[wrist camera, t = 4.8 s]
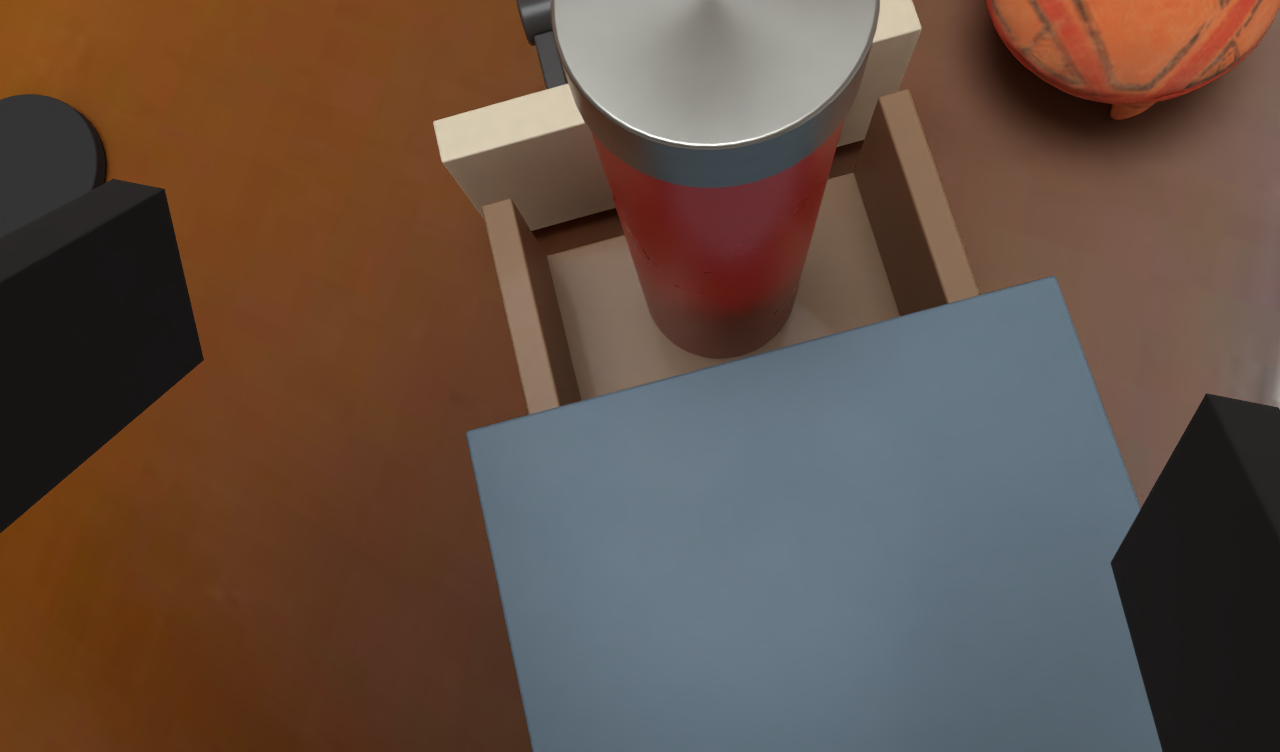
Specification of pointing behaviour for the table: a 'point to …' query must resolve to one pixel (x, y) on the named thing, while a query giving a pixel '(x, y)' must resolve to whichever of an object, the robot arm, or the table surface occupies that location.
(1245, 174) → the table surface
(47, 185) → the coaster
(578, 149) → the drawer
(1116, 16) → the pot
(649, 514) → the cabinet
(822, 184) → the disc
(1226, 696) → the robot arm
